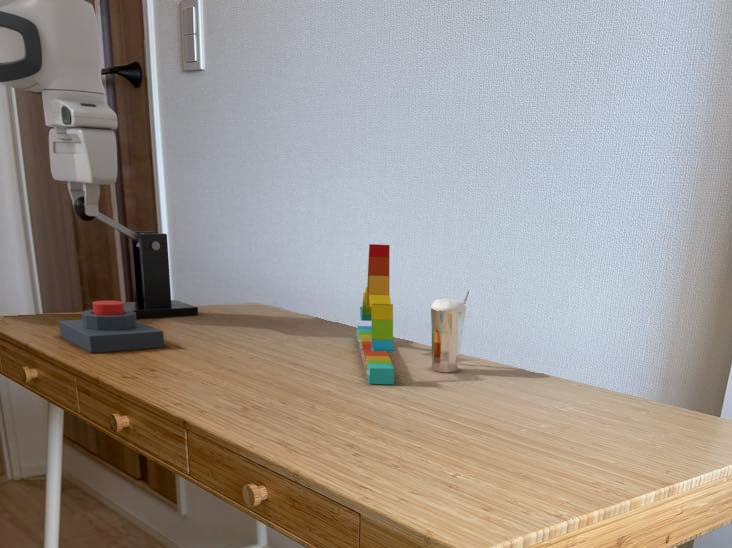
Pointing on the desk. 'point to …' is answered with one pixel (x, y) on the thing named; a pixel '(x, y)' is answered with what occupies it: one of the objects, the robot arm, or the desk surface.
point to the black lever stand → (153, 279)
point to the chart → (377, 319)
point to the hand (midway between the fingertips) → (86, 215)
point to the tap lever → (102, 220)
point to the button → (108, 308)
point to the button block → (111, 332)
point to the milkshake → (447, 333)
